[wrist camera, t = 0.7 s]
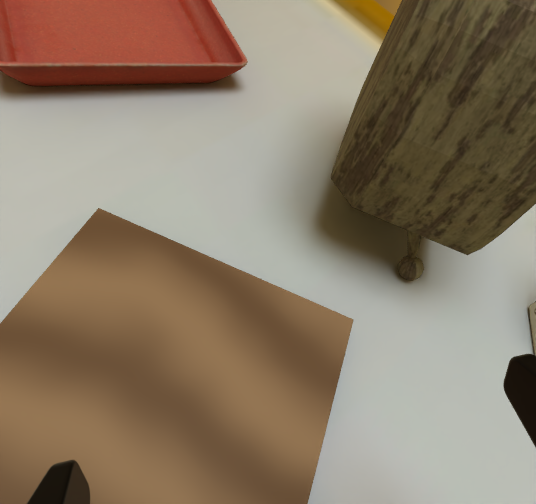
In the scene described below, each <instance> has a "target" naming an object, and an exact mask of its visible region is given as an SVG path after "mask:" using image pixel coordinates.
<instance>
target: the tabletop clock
mask: <svg viewBox="0 0 536 504" xmlns="http://www.w3.org/2000/svg"><path fill="white" fill-rule="evenodd" d="M331 179H332V180H333V182H334V183H335V184H336V186H337V187H338V188H339V190H340V191H341V192H342V194H343V195H344V196H345V198H346V199H347V201H348V202H349V203H350V205H351V206H352V207H353V208H356V209H358V210H360V211H363V212H365V213H368V214H370V215H372V216H375V217H377V218H380V219H382V220H384V221H387V222H389V223H392V224H394V225H396V226H399V227H401V228H404V229H406V230H408V256H406V257H403V258H402V259H401V261H400V262H399V264H398V270H399V273H400V275H401V276H402V277H403V278H405V279H407V280H414V279H417V278H419V277H420V276H421V274H422V273H423V270H424V266H423V263H422V261H421V259H419V258H418V257H416V256H417V252H418V248H419V243H420V239H421V236H423V237H425V238H428V239H430V240H432V241H435V242H437V243H440V244H442V245H444V246H447V247H449V248H452V249H454V250H456V251H459V252H461V253H464V254H466V255H469V254H471V253H473V252H475V251H477V250H479V249H481V248H483V247H484V246H486V245H487V244H488V243H490V242H491V241H493V240H494V239H495V238H496V237H498V236H499V235H500V234H502V233H503V232H504V231H505V230H506V229H507V228H509V227H510V226H511V225H512V224H513V223H514V222H515V221H516V220H518V219H519V218H520V217H521V216H522V215H523V214H524V213H526V212H527V211H528V210H529V209H530V208H531V207H532V206H534V205H535V204H536V0H402V2H401V4H400V6H399V8H398V10H397V13H396V15H395V17H394V19H393V21H392V23H391V25H390V28H389V30H388V32H387V34H386V36H385V38H384V41H383V43H382V45H381V47H380V49H379V51H378V54H377V56H376V58H375V60H374V62H373V64H372V67H371V69H370V71H369V73H368V76H367V78H366V80H365V82H364V85H363V87H362V89H361V92H360V94H359V97H358V99H357V102H356V104H355V107H354V110H353V113H352V115H351V118H350V121H349V124H348V127H347V129H346V132H345V135H344V138H343V141H342V144H341V147H340V150H339V153H338V156H337V159H336V162H335V165H334V168H333V171H332V175H331Z"/></svg>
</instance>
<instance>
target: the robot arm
mask: <svg viewBox="0 0 536 504" xmlns="http://www.w3.org/2000/svg"><path fill="white" fill-rule="evenodd" d="M504 391H505V393H506V395H507V397H508V399H509V401H510V403H511V404H512V406H513V408H514V410H515V411H516V413H517V415H518V417H519V419H520V420H521V422H522V424H523V426H524V427H525V429H526V431H527V433H528V435H529V436H530V438H531V440H532V442H533V443H534V445H535V447H536V356H535V355H533V354H524V355H520V356H516V357H513V358H512V359H511V360H510V362H509V365H508V369H507V372H506V376H505V379H504ZM27 504H90V488H89V484H88V482H87V480H86V478H85V476H84V474H83V472H82V470H81V468H80V466H79V464H78V463H77V461H75V460H68V461H64V462H59V463H56V464H54V465H52V466H51V467H50V468H49V470H48V471H47V473H46V474H45V476H44V477H43V479H42V480H41V482H40V483H39V485H38V487H37V488H36V490H35V491H34V493H33V494H32V496H31V497H30V499H29V501H28V502H27Z"/></svg>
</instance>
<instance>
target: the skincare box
mask: <svg viewBox="0 0 536 504" xmlns="http://www.w3.org/2000/svg"><path fill="white" fill-rule="evenodd" d="M529 309H530V324H531V330H532V339H533V346H534V351H535V355H536V301H535V302H534V303H533V304H531V305H530V307H529Z"/></svg>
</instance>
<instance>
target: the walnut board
mask: <svg viewBox="0 0 536 504" xmlns="http://www.w3.org/2000/svg"><path fill="white" fill-rule="evenodd" d="M352 324H353V319H351V318H348V317H346V316H344V315H342V314H339V313H337V312H335V311H332V310H330V309H328V308H326V307H323V306H321V305H319V304H316V303H314V302H312V301H310V300H307V299H305V298H303V297H300V296H298V295H296V294H294V293H291V292H289V291H287V290H284V289H282V288H280V287H278V286H275V285H273V284H271V283H268V282H266V281H264V280H262V279H259V278H257V277H255V276H252V275H250V274H248V273H246V272H243V271H241V270H239V269H237V268H234V267H232V266H230V265H227V264H225V263H223V262H221V261H218V260H216V259H214V258H211V257H209V256H207V255H205V254H202V253H200V252H198V251H195V250H193V249H191V248H189V247H186V246H184V245H182V244H179V243H177V242H175V241H173V240H170V239H168V238H166V237H163V236H161V235H159V234H157V233H154V232H152V231H150V230H147V229H145V228H143V227H141V226H138V225H136V224H134V223H131V222H129V221H127V220H125V219H122V218H120V217H118V216H115V215H113V214H111V213H109V212H106V211H104V210H102V209H100V208H98V209H97V211H96V212H95V213H94V214H93V215H92V216H91V218H90V219H89V220H88V221H87V222H86V224H85V225H84V226H83V227H82V228H81V229H80V231H79V232H78V233H77V234H76V235H75V236H74V238H73V239H72V240H71V241H70V242H69V243H68V245H67V246H66V247H65V248H64V249H63V251H62V252H61V253H60V254H59V255H58V256H57V258H56V259H55V260H54V261H53V262H52V263H51V265H50V266H49V267H48V268H47V269H46V271H45V272H44V273H43V274H42V275H41V276H40V278H39V279H38V280H37V281H36V282H35V283H34V285H33V286H32V287H31V288H30V289H29V290H28V292H27V293H26V294H25V295H24V296H23V298H22V299H21V300H20V301H19V302H18V303H17V305H16V306H15V307H14V308H13V309H12V310H11V312H10V313H9V314H8V315H7V316H6V318H5V319H4V320H3V321H2V322H1V323H0V504H27V502H28V501H29V499H30V497H31V496H32V494H33V493H34V491H35V490H36V488H37V487H38V485H39V483H40V482H41V480H42V479H43V477H44V476H45V474H46V473H47V471H48V470H49V468H50V467H51V466H52V465H54V464H56V463H59V462H64V461H68V460H75V461H77V463H78V464H79V466H80V468H81V470H82V472H83V474H84V476H85V478H86V480H87V482H88V484H89V488H90V504H307V503H308V499H309V495H310V491H311V487H312V483H313V479H314V475H315V471H316V467H317V463H318V459H319V455H320V451H321V447H322V443H323V439H324V435H325V431H326V427H327V423H328V419H329V415H330V411H331V407H332V403H333V399H334V395H335V391H336V387H337V383H338V379H339V375H340V371H341V367H342V363H343V360H344V356H345V352H346V348H347V344H348V340H349V336H350V332H351V328H352Z"/></svg>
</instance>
